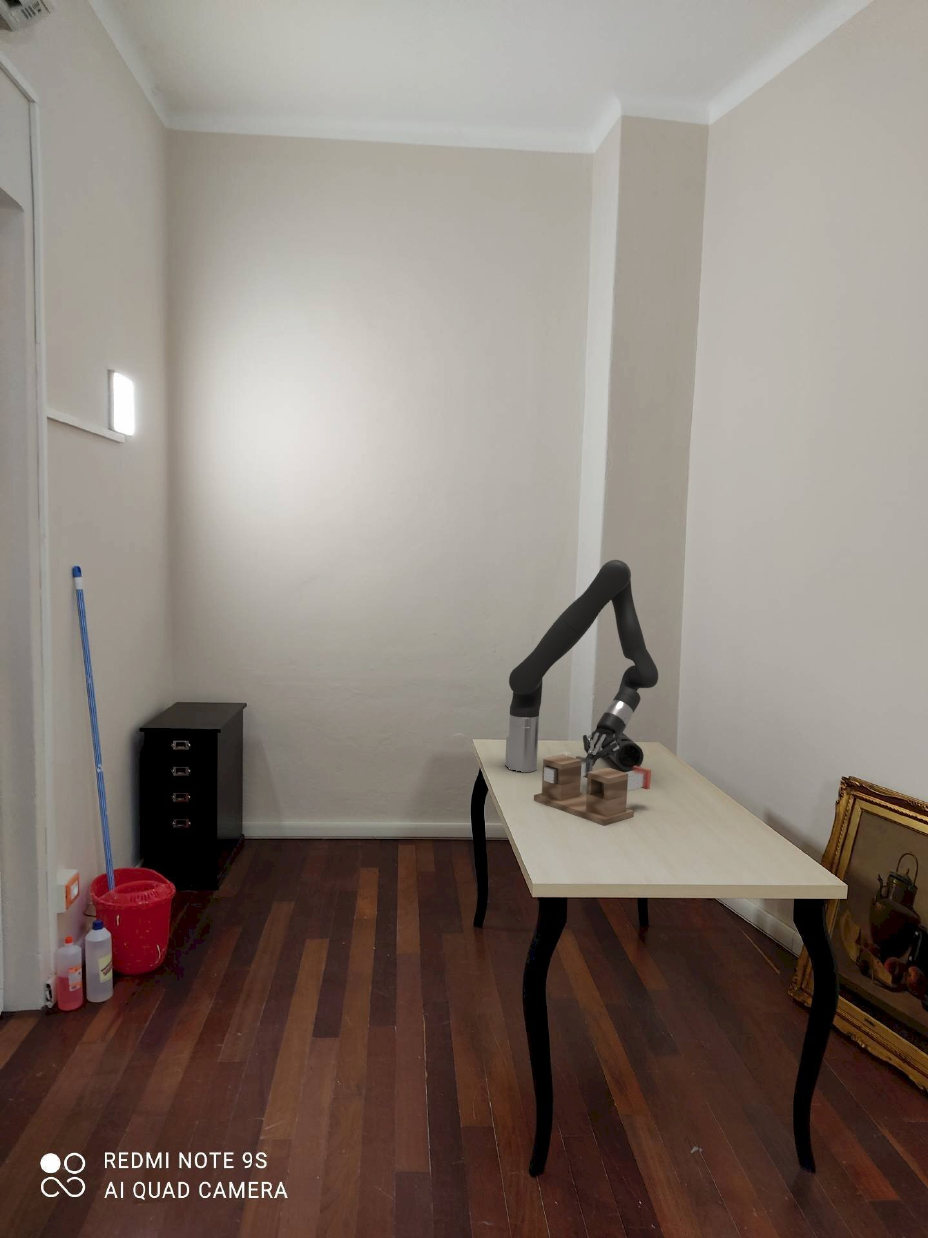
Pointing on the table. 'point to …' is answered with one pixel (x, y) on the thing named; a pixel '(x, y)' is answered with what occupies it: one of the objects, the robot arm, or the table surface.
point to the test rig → (596, 802)
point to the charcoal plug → (552, 772)
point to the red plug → (637, 778)
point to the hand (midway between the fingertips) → (586, 767)
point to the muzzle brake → (627, 754)
